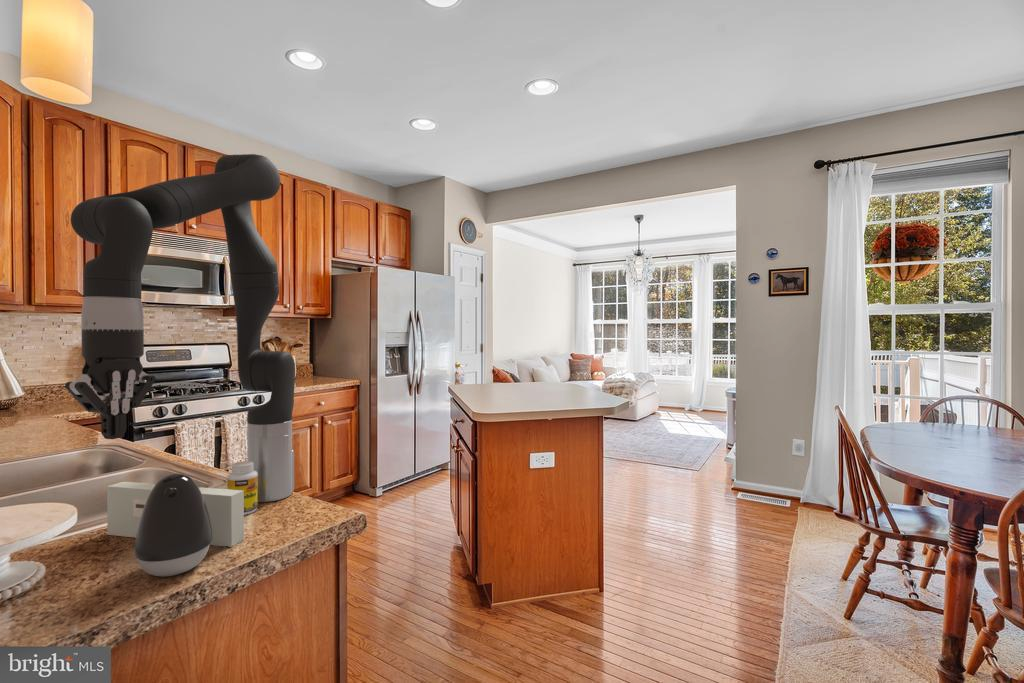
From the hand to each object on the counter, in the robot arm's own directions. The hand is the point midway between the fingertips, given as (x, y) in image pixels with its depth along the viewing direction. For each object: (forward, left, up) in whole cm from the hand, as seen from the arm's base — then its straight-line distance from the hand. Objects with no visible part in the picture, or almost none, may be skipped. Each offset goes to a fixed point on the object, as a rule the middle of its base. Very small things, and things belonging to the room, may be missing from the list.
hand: (114, 437), depth 77 cm
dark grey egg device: (-2, +9, -21) cm, 23 cm away
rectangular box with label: (-12, -2, -21) cm, 24 cm away
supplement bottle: (-26, +1, -21) cm, 34 cm away
